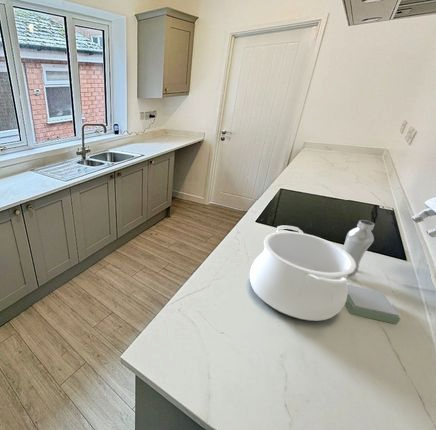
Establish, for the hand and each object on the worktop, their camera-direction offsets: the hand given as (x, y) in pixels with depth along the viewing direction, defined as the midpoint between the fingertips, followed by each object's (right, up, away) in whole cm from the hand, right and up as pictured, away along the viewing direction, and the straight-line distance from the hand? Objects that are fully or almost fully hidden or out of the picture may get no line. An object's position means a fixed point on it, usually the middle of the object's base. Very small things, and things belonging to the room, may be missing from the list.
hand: (420, 226), depth 77 cm
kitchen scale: (-16, -24, +1) cm, 28 cm away
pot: (-35, -22, +5) cm, 42 cm away
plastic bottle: (-11, -17, +14) cm, 25 cm away
